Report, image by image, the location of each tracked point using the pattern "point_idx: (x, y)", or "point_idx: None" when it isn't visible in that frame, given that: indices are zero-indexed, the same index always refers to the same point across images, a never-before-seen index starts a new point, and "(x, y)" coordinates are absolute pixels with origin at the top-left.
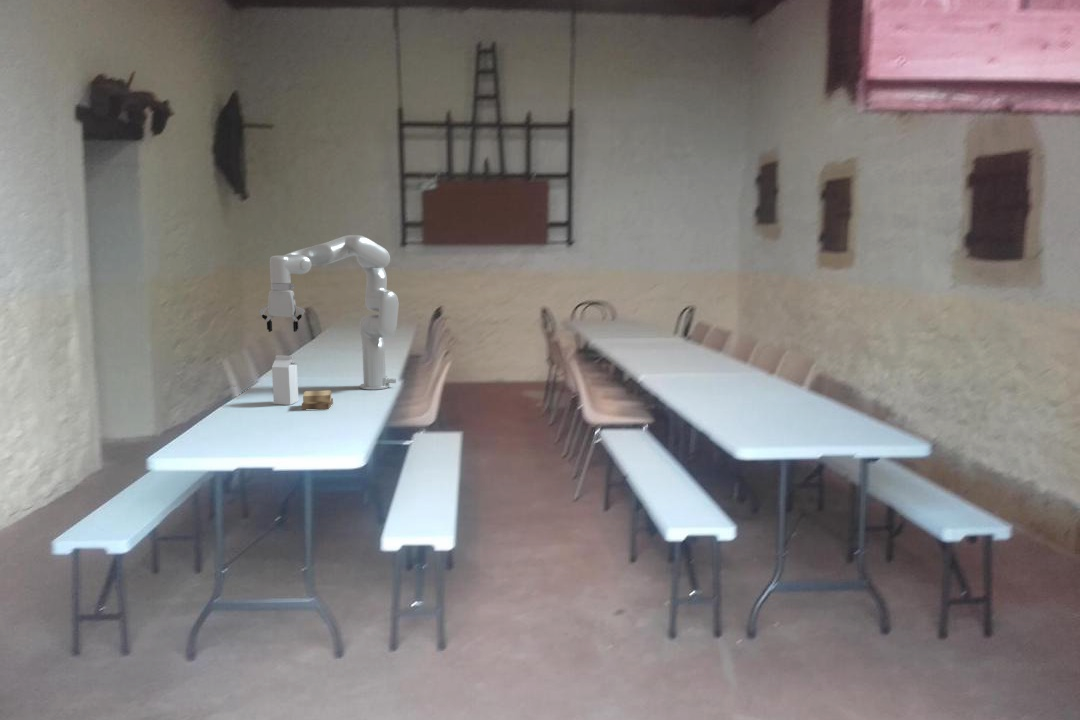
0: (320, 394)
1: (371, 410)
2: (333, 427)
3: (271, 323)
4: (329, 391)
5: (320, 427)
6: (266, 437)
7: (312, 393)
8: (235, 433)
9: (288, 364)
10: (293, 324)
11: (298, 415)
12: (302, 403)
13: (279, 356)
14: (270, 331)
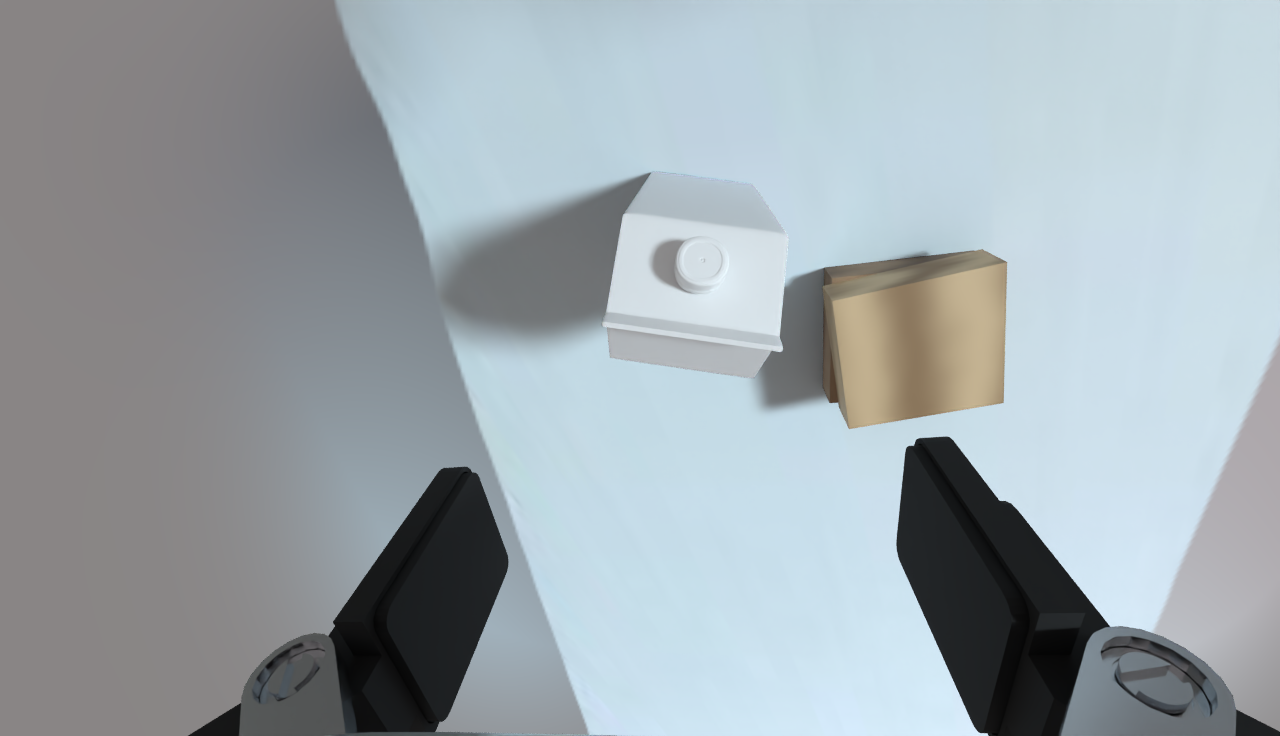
0: (944, 385)
1: (1190, 386)
2: None
3: (422, 607)
4: (997, 298)
5: None
6: (793, 699)
7: (892, 361)
8: (688, 664)
9: (748, 365)
10: (955, 675)
11: (828, 476)
12: (831, 395)
13: (644, 329)
14: (507, 560)
